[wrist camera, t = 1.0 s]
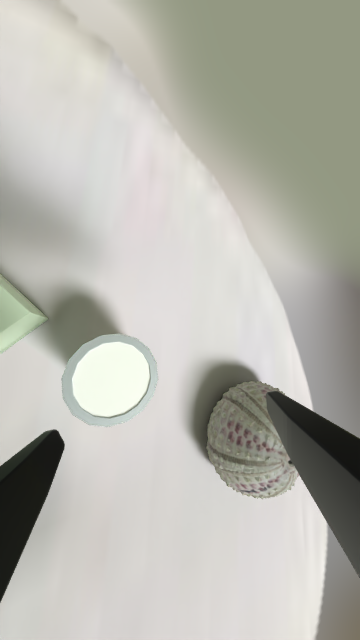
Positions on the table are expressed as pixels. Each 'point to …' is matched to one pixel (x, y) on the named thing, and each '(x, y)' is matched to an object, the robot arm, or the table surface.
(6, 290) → the bin
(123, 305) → the table surface
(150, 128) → the table surface
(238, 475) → the sea urchin shell
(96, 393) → the shot glass
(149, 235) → the table surface
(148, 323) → the table surface
